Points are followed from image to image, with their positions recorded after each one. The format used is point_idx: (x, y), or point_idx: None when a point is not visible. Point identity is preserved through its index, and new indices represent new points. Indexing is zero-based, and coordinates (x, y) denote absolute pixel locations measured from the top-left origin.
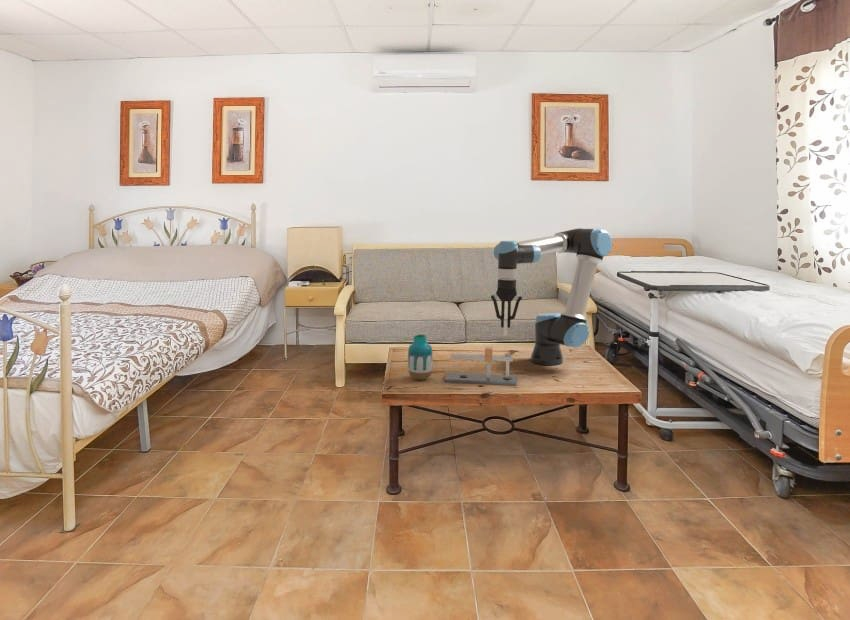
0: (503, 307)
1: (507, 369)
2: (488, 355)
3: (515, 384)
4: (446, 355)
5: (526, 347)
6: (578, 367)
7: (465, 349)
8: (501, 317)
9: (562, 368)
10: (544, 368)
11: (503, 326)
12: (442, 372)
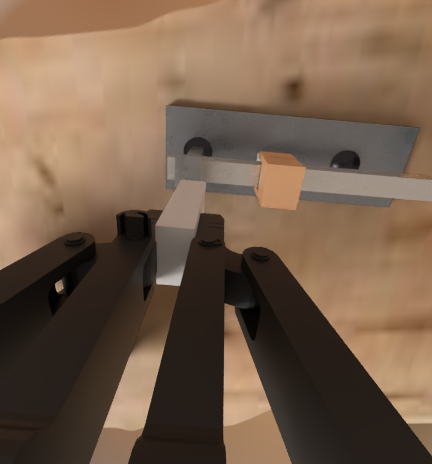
0: (181, 355)
1: (195, 151)
2: (280, 159)
3: (171, 105)
4: None
5: (146, 418)
6: None
7: None
8: (220, 251)
9: None
10: None
11: (201, 217)
12: (396, 227)
